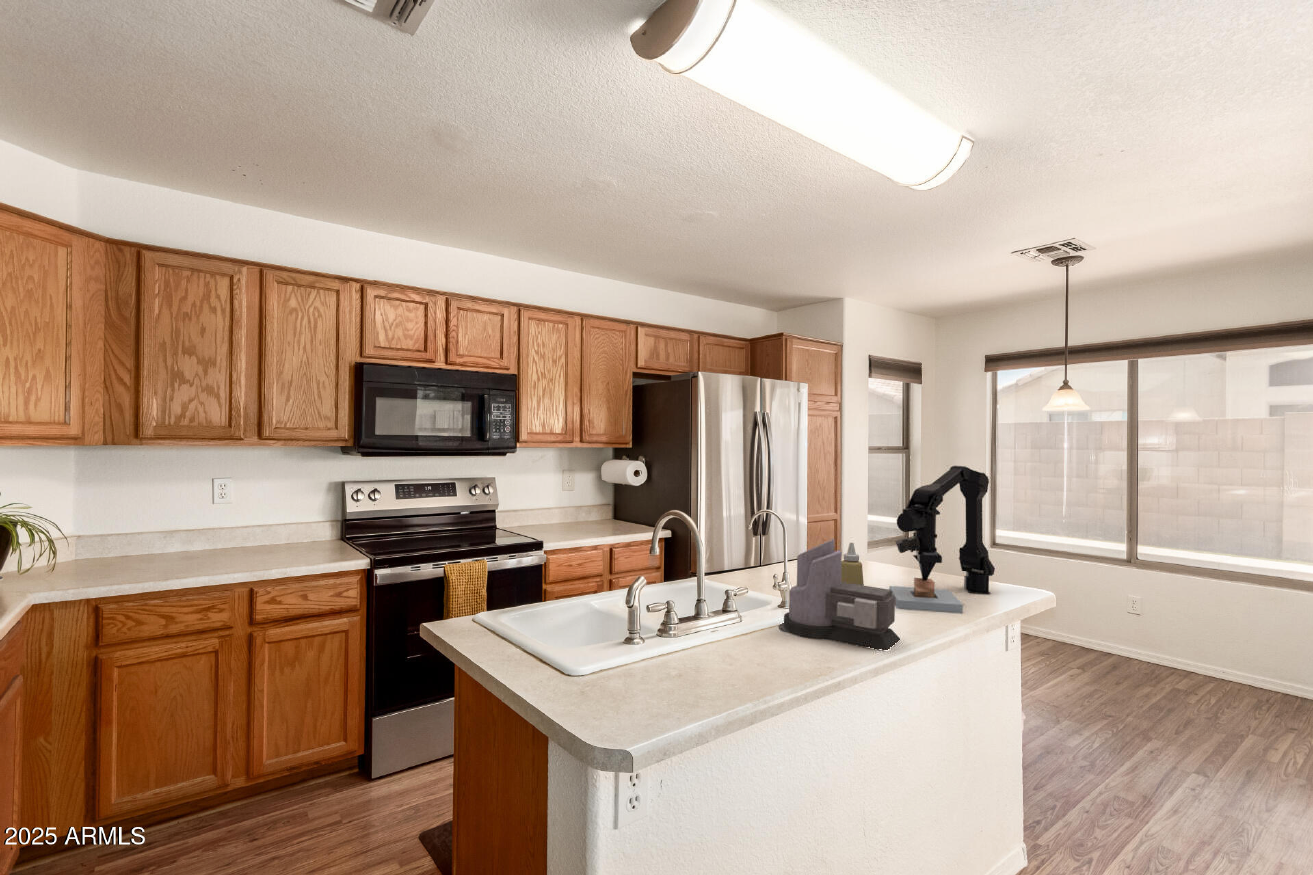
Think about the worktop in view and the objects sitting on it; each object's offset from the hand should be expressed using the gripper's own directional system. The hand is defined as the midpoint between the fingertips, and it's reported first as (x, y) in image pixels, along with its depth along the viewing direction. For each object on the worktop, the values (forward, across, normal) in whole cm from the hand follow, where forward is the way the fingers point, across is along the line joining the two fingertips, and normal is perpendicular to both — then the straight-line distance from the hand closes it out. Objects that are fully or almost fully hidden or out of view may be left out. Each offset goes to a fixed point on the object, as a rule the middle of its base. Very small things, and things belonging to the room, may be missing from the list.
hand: (924, 580), depth 197 cm
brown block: (+6, 0, 0) cm, 6 cm away
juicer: (+7, +38, -28) cm, 48 cm away
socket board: (+7, 0, 0) cm, 7 cm away
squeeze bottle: (+7, +4, -22) cm, 23 cm away
